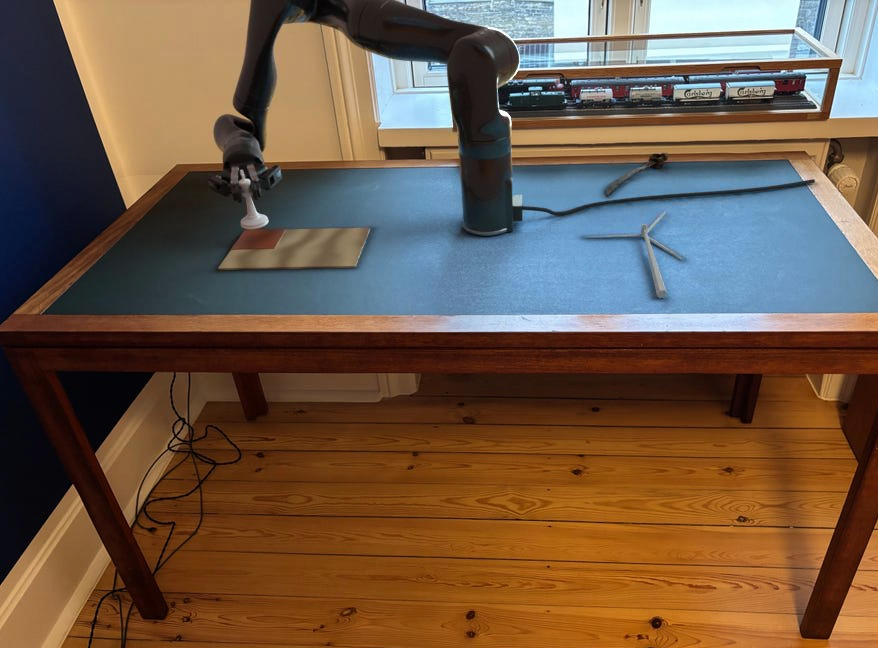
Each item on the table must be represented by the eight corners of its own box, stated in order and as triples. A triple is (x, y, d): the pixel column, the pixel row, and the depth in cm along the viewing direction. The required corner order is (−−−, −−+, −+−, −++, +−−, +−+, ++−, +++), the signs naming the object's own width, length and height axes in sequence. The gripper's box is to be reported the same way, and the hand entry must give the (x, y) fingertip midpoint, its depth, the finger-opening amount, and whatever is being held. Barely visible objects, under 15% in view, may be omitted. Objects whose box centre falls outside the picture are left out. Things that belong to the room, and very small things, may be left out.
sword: (608, 197, 142) (609, 187, 140) (593, 193, 144) (594, 183, 142) (675, 160, 156) (676, 151, 154) (661, 157, 158) (662, 147, 157)
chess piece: (244, 231, 128) (230, 177, 122) (238, 221, 132) (224, 168, 126) (271, 225, 130) (259, 171, 124) (265, 215, 133) (252, 162, 127)
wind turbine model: (696, 300, 110) (666, 212, 134) (697, 287, 108) (667, 200, 132) (592, 303, 111) (581, 215, 135) (593, 290, 110) (581, 204, 133)
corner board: (370, 229, 135) (370, 226, 135) (355, 267, 123) (355, 265, 122) (245, 232, 136) (245, 229, 136) (218, 270, 124) (217, 267, 124)
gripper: (200, 148, 134) (199, 181, 121) (275, 137, 137) (283, 169, 124) (211, 186, 139) (211, 223, 125) (284, 175, 142) (291, 210, 128)
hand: (247, 196), depth 125 cm, fingers closed on chess piece
